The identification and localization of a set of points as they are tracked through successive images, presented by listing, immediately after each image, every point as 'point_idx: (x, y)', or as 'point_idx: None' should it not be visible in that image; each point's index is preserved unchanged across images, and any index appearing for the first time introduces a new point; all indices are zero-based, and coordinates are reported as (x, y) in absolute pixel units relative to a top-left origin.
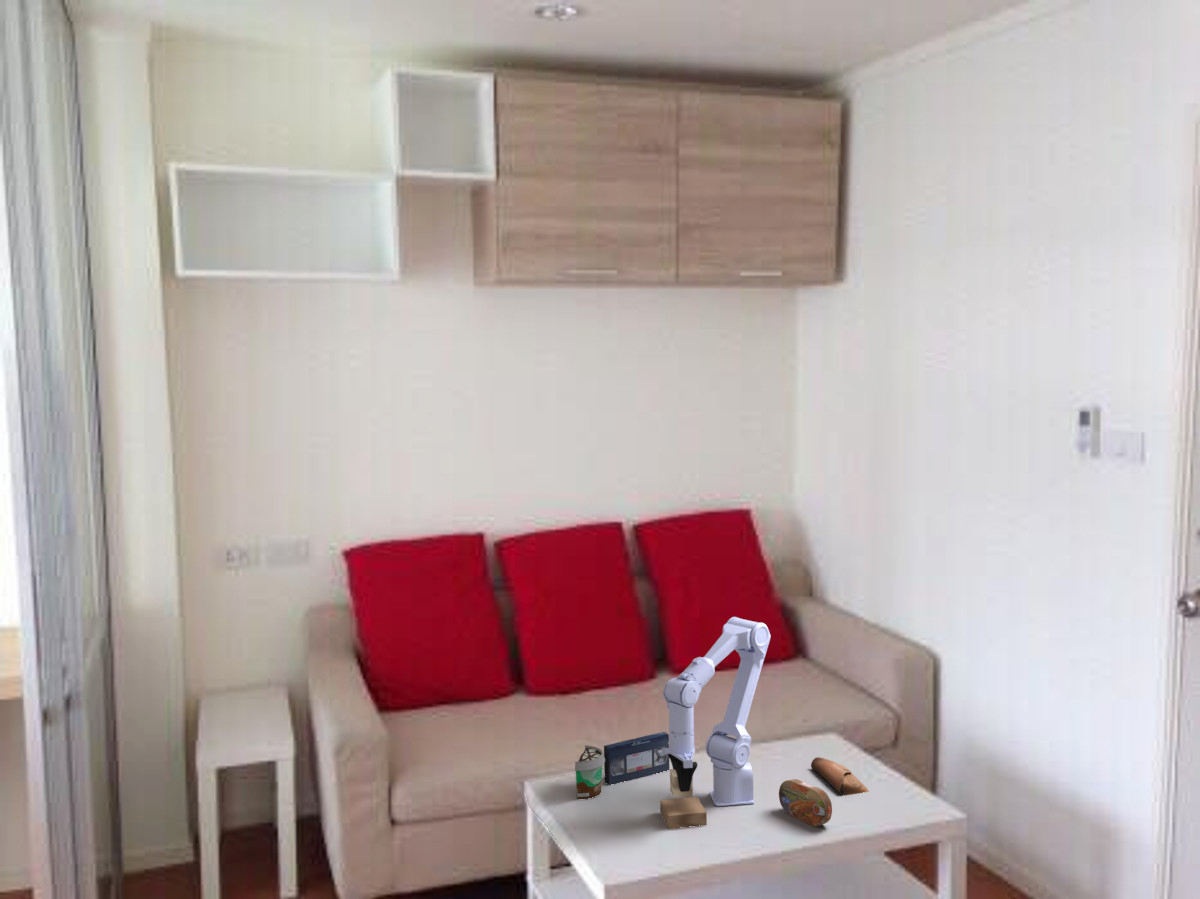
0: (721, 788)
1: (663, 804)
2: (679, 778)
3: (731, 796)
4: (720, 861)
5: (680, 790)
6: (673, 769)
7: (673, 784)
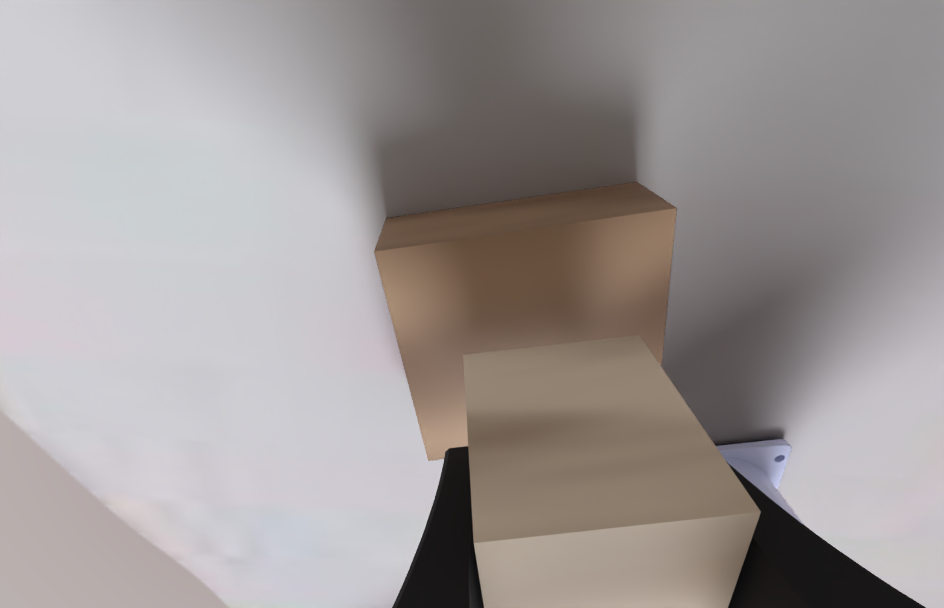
0: None
1: (588, 228)
2: (399, 598)
3: None
4: (33, 433)
5: (446, 456)
6: (743, 544)
7: (473, 450)
